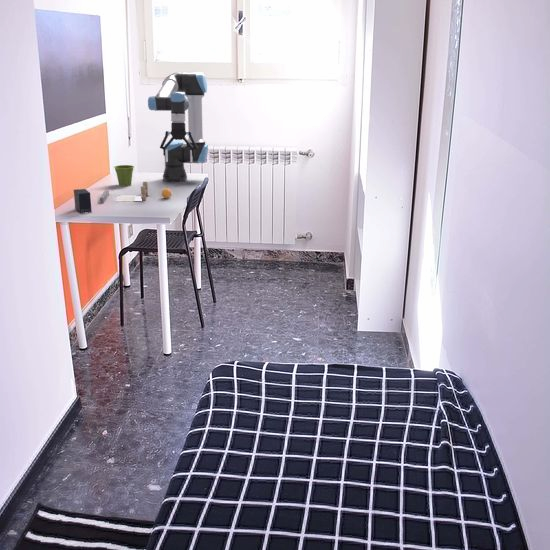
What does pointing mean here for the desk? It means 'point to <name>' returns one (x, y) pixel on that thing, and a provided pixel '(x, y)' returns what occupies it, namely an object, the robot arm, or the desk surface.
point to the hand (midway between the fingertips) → (179, 162)
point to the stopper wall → (104, 196)
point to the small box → (82, 200)
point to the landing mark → (126, 198)
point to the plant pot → (124, 174)
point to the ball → (166, 193)
